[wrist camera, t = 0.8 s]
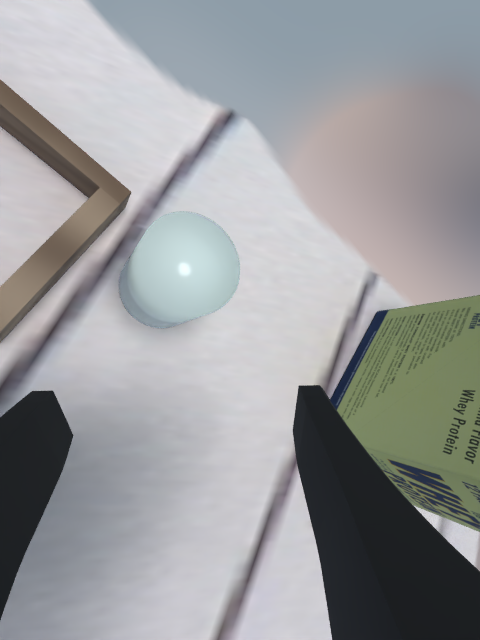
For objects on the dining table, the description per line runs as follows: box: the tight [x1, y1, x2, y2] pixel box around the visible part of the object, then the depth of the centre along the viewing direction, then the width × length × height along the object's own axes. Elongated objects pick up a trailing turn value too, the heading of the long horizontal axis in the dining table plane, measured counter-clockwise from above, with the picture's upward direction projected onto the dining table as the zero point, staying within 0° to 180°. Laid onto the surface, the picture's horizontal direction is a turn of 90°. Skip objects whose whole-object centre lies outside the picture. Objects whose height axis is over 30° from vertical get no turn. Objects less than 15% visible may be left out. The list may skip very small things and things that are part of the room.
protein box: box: [330, 295, 480, 532], centre depth 27 cm, size 10×16×16 cm
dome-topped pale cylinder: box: [119, 211, 240, 328], centre depth 22 cm, size 6×6×7 cm
